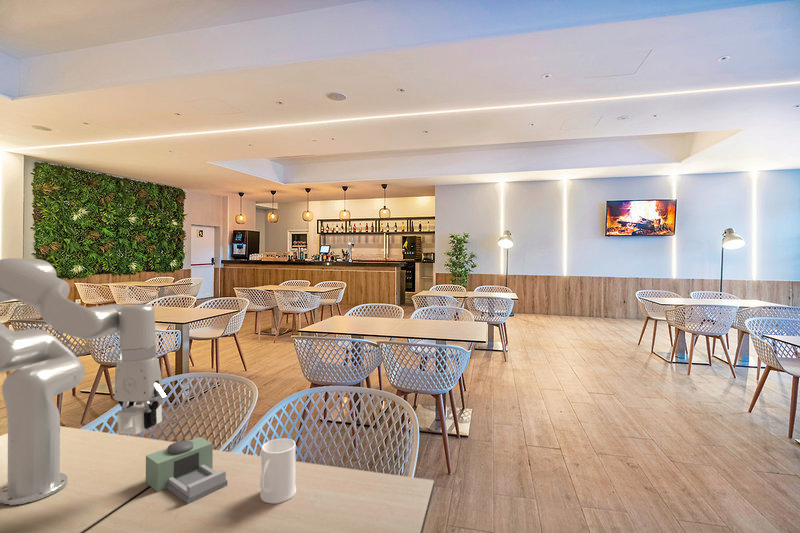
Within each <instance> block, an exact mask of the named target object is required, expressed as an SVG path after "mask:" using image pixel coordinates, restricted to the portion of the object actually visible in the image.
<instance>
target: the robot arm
mask: <svg viewBox="0 0 800 533" xmlns="http://www.w3.org/2000/svg"><path fill="white" fill-rule="evenodd" d="M57 274H58V273H57V270H56V268H55V267H54V266H53V264H51V263H50V262H48V261H46V260H43V259H39V258H22V257H21V258H20V257H19V258H17V257H16V258H14V257H11V258H9V257H8V258H1V259H0V303H5V302H8V301H12V300H17V301H20V302H21V303H23V304H25V305H28V306H30V307H33V308H35V309H36V310H38V313H39V315H40V317H41V318H42V320H43V321H44V322H45V324H46V325H48V326H49V327H50V328H52V329H55V330H56V331H58V332H61V333H63V334H66V335H67V336H68V337H72V338H75V339H78V340H79V339H80V340H93V339H97V338H101V337H102V338H103V337H106V336H109V335H114V334H119V350H118V354H119V357H120V359H119V360H118V361H117V364H116V369H115V376H114V395H113V399H114V400H116V402H118V404H119V406H121V411H122V410H124V409H126V408H129V407H131V406H134V405H137V404H136V403H143V404H144V406H145V410H146V412H145V413H144V428H145V429H146V430H148V429H150V428H152V427H154V426H156V425H157V424H156V423H157V418H156V409H158V408H159V405H160V404H161V405H162V403H163V402H164V401H166V399H167V398H168V396H167V395H166V393H165V392H164V390H163V381H162V371H161V366H160V361H159V358H158V357H157V345H156V343H157V342H156V315H155V314H156V313H155V312H156V310H155V308H154V306H153V305H151V304H147V303H146V304H145V303H143V304H130V305H128V304H118V303H117V304H116V303H115V304H105V305H96V306H91V307H89V306H88V307H87V306H84V305H81V304H80V303H77V302H75V301H73V300H71V299H69V298H68V297H69V295H70V293H71V292H70V291H71V287H70V285H69V283H68V282H67V281H66V280H64V279H63V278H59V277H58V276H57ZM85 369H86V368H85V366H84V364H83V362H82V361H81V359H79V358H78V356H76V354H74V352H72V351H71V350H70V349H69V348H68V347H67V346H66V345H64V343H62V342H61V341H60V340H59V339H58V338H57V337H56V336H54V334H52V333H51V332H50V331H49V332H48V331H47V330H44V329H41V328H28V329H22V330H12V329H10V328H8V327H7V326H5V325H4V324H3V323H2V322H1V321H0V373H7V372H9V371H10V373H9V374H8V375H7V376H6V378H5V379H4V381H3V382H2V386H1V393H2V397H3V398H2V399H3V401H4V404H5V409H6V418H7V486H6V487H4V489H2V490H1V491H0V502H1V503H4V504H9V505H8V506H17V504H18V505H23V504H28V502H29V503H32V502H36V501H39V500H41V499H44V498H47V497H49V496H51V495H53V494H56V492H58V491H59V492H60V490H61V489H63V488H64V487H65V486H66V485H67V483H68V479H69V478H68V475H67V474H65V473H62V472H61V469H60V468H61V416H60V411H59V408H58V406H57V404H56V403H55V401H54V399H53V398H54V397H56V396H57V395H59V394H63V393H65V392H67V391H70V390H72V389H74V388H76V387H77V386H79V385H80V384H81V383H82V382H83V380H84V378H85V374H86V370H85ZM13 370H14V371H13ZM11 371H12V372H11ZM1 503H0V504H1ZM4 504H3V505H4Z"/></svg>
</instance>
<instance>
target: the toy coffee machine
mask: <svg viewBox="0 0 800 533" xmlns="http://www.w3.org/2000/svg"><path fill="white" fill-rule="evenodd" d="M213 445H214V444H213V442H212V441H209V440H207V439H205V438H203V437H201V436H199V437H195V438H193V439H189V440H180V441H176V442H173V443H170V444H169V445H168V446H167V447H166V448H164V449H161V450H159V451H155V452H153V453H150V454H146V455H145V483H146V484H147V485H148V486H149V487H151V488H152V489H154V491H155V492H157V493H158V492H161V491H163V490H165V489H166V490H168V491H169V492H171V493H172V494H174V496H176V497H177V498H179V499H180V500H182V501H183V502H185V504H186V505H189V504H190V503H193V502H195V501H197V500H199V499H201V498H203V497H206V496H207V495H209V494H212V493H214V492H216V491H218V490H221V489H223V488H225V487H227V486H228V480H227V479H226V478H227V476H226V474H227V473H226V472H227V471H226V470H224V469H221V470H219V471H216V470H214V469H213V463H214V462H213V456H214V455H213V450H214V449H213V448H214V447H213Z"/></svg>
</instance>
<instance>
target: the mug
mask: <svg viewBox="0 0 800 533" xmlns="http://www.w3.org/2000/svg"><path fill="white" fill-rule="evenodd" d="M259 479H260V480H259V485H260V494H259V497H260V500H262V502H264V503H267V504H280V503H284V502H286V501H288V500H290V499H291V498H293V497H294V496H295V495H296V493H297V487H296V442H295V441H294V439H291V438H284V437H283V438H275V439H271V440H268V441H267V442H264V444H262V446H261V474H260V478H259Z"/></svg>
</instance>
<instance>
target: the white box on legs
mask: <svg viewBox="0 0 800 533" xmlns="http://www.w3.org/2000/svg"><path fill="white" fill-rule="evenodd" d="M162 407H163V406H162V403H161V404H160V405H159V408H158V409H156V418H157V423H156V425H157V424H160V423H162V421H163V415H162V414H163V412H162V409H163V408H162ZM145 412H146V410H145V406H144V403H143V404H135V405H134V406H131V407H129V408H126V409H124V410H122V409H121V410H120V411H117V433H118V435H120V434H121V435H123V434H124V435H133V436H134V435H138V434H139V433H142V432H144V431H146V430H147V429H145V428H144V413H145Z"/></svg>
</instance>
